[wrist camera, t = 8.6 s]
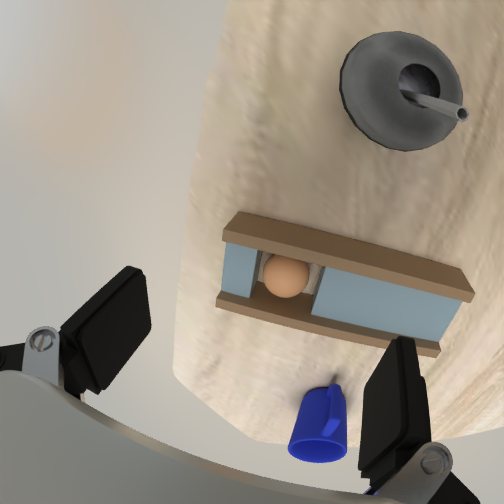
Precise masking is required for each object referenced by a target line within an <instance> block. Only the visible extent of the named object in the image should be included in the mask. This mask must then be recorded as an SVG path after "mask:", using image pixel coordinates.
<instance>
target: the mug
mask: <svg viewBox="0 0 504 504" xmlns="http://www.w3.org/2000/svg"><path fill="white" fill-rule="evenodd" d="M288 451H289V453H290V454H291V455H292V456H294V457H295V458H297V459H300V460H303V461H307V462H313V463H325V462H332V461H336V460H339V459H341V458H342V457H344V456H345V454H346V453H347V413H346V401H345V398H344V397H343V395H342V392H341V387H340V385H338V384H331V385H330V387H329V389H326V388H321V389H316V390H313V391H310V392H309V393H308V394H306V395H305V397H304V398H303V400H302V403H301V406H300V410H299V413H298V416H297V420H296V423H295V426H294V429H293V433H292V436H291V439H290V442H289V445H288Z"/></svg>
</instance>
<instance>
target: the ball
mask: <svg viewBox="0 0 504 504" xmlns="http://www.w3.org/2000/svg"><path fill="white" fill-rule="evenodd" d="M308 280H309V269H308V266H307V264H306V262H305V261H301V260H297V259H293V258H289V257H285V256H281V255H277V254H274V255H272V256H271V257H270V258H269V259H268V260H267V262H266V263H265V265H264V268H263V281H264V284H265V286H266V287H267V289H268V290H269V291H270V292H271V293H273V294H274V295H276V296H279V297H283V298H288V297H293V296H296V295H298V294H299V293H300V292H302V291H303V290H304V288H305V287H306V285H307V283H308Z"/></svg>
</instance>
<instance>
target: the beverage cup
mask: <svg viewBox="0 0 504 504" xmlns="http://www.w3.org/2000/svg"><path fill="white" fill-rule="evenodd" d="M339 91H340V94H341V98H342V101H343V105H344V109H345V110H346V112H347V113H348V115H349V117H350V118H351V120H352V122H353V123H354V125H355V126H356V127H357V128H358V129H359V130H360V131H361V132H362V133H363V134H365V135H366V136H367V137H368V138H369V139H370V140H372V141H374V142H376V143H378V144H380V145H382V146H384V147H386V148H389V149H394V150H399V151H404V152H406V151H413V150H421V149H424V148H428V147H430V146H432V145H434V144H436V143H438V142H440V141H442V140H444V139H445V138H446V137H447V136H448V134H449V133H450V132H451V131H452V130H453V129H454V128H455V126H456V124H457V121H458V120H460V121H462V122H463V121H466V120H467V119H468V116H469V114H468V111H467V109H466V108H464V107H463V106H462V101H463V92H462V87H461V83H460V79H459V76H458V74H457V72H456V70H455V68H454V66H453V65H452V63H451V61H450V59H449V58H448V57H447V56H446V55H445V54H444V53H443V52H442V51H441V50H440V49H439V48H438V47H437V46H435V45H434V44H432V43H430V42H429V41H427V40H425V39H424V38H422V37H420V36H418V35H414V34H410V33H406V32H401V31H394V32H383V33H378V34H374V35H372V36H369V37H367V38H365V39H363V40H361V41H359V42H358V43H357V44H356V45H355V46H354V47H353V48H352V49H351V50H350V51H349V53H348V54H347V55H346V58H345V60H344V62H343V65H342V67H341V70H340V83H339Z"/></svg>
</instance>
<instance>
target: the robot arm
mask: <svg viewBox="0 0 504 504" xmlns="http://www.w3.org/2000/svg"><path fill="white" fill-rule="evenodd" d="M60 328H61V330H60V331H59V332H57V331H56V330H55V329H54V328H52V327H49V326H44V327H39V328H37V329H35V330H33V331H32V332H31V333H30V334H29V335H28V337H27V339H26V343H21V344H15V345H9V346H2V347H0V504H480V501H479V500H478V498H477V497H476V496H475V495H474V494H473V493H472V492H471V491H470V490H469V489H468V488H467V487H466V486H465V485H464V484H463V483H462V482H461V481H460V480H459V479H458V478H457V477H456V476H455V475H454V474H453V473H452V472H451V469H452V465H453V459H452V455H451V453H450V451H449V449H448V448H447V447H446V446H444V445H443V444H441V443H438V442H432V441H431V427H430V416H429V406H428V398H427V390H426V383H425V379H424V377H423V376H421V375H420V368H419V362H418V355H417V349H416V344H415V340H414V338H410V337H405V336H398V337H397V339H392V340H391V342H390V344H389V346H388V348H387V349H386V351H385V353H384V355H383V356H382V358H381V360H380V362H379V363H378V365H377V367H376V368H375V370H374V372H373V373H372V375H371V377H370V378H369V380H368V382H367V383H366V385H365V388H364V395H363V414H362V429H361V441H360V452H359V461H358V470H360V471H362V472H361V478H369V479H370V486H371V487H370V488H369V489H368V490H367V491H365V492H364V493H363V494H357V493H351V492H342V491H334V490H328V489H321V488H315V487H309V486H304V485H299V484H293V483H288V482H284V481H279V480H274V479H271V478H266V477H262V476H258V475H255V474H251V473H247V472H243V471H240V470H237V469H233V468H230V467H227V466H224V465H221V464H218V463H214V462H211V461H209V460H206V459H203V458H200V457H197V456H194V455H192V454H189V453H187V452H184V451H182V450H179V449H176V448H174V447H172V446H169V445H167V444H165V443H162V442H160V441H158V440H155V439H153V438H151V437H148V436H146V435H144V434H142V433H140V432H138V431H136V430H134V429H132V428H130V427H128V426H126V425H124V424H122V423H120V422H118V421H116V420H114V419H112V418H110V417H109V416H107V415H105V414H103V413H101V412H100V411H98V410H96V409H94V408H93V407H91V406H89V405H87V404H86V403H85V398H84V392H85V391H86V389H88V390H90V391H92V392H93V393H95V394H97V395H98V394H99V393H100V392H101V390H105V389H106V388H107V387H108V386H109V385H110V383H111V382H112V381H113V379H114V378H115V377H116V375H117V374H118V373H119V371H120V370H121V369H122V368H123V366H124V365H125V364H126V362H127V361H128V360H129V358H130V357H131V356H132V354H133V353H134V352H135V351H136V349H137V348H138V346H139V345H140V344H141V343H142V342H143V340H144V339H145V338H146V336H147V335H148V334H149V332H150V330H151V317H150V310H149V302H148V294H147V285H146V277H145V275H144V274H143V272H142V270H141V269H138V268H135V267H132V266H126V267H125V268H124V269H122V270H121V271H120V272H119V273H118V274H117V275H116V276H115V277H113V278H112V279H111V280H110V281H109V282H108V283H107V284H106V285H104V286H103V287H102V288H101V289H100V290H99V291H98V292H97V293H96V294H95V295H93V296H92V297H91V298H90V299H89V300H88V301H87V302H86V303H85V304H84V305H83V306H82V307H81V308H80V309H78V310H77V311H76V312H75V313H74V314H73V315H72V316H71V317H70V318H69V319H68V320H67V321H66V322H65V323H64V324H63V325H62V326H61V327H60Z"/></svg>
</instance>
